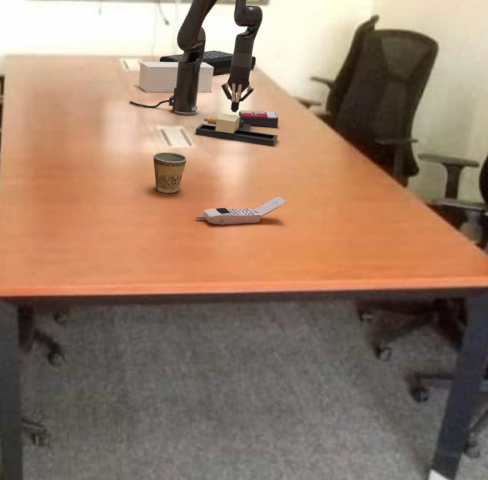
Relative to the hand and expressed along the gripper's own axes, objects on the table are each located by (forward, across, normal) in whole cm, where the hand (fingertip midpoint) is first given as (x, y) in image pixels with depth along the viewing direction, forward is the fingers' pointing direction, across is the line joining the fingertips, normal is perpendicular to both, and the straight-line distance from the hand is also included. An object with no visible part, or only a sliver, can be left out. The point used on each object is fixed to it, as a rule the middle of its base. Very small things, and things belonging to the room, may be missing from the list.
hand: (234, 111), depth 298 cm
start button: (+4, -1, 0) cm, 4 cm away
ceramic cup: (+6, 0, +83) cm, 83 cm away
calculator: (+7, -7, -14) cm, 17 cm away
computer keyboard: (+8, +40, -114) cm, 121 cm away
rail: (+6, -5, +13) cm, 15 cm away
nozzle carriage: (+5, +2, +13) cm, 14 cm away
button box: (+6, -1, 0) cm, 7 cm away
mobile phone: (+6, -26, +99) cm, 103 cm away
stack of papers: (+8, +40, -55) cm, 68 cm away
